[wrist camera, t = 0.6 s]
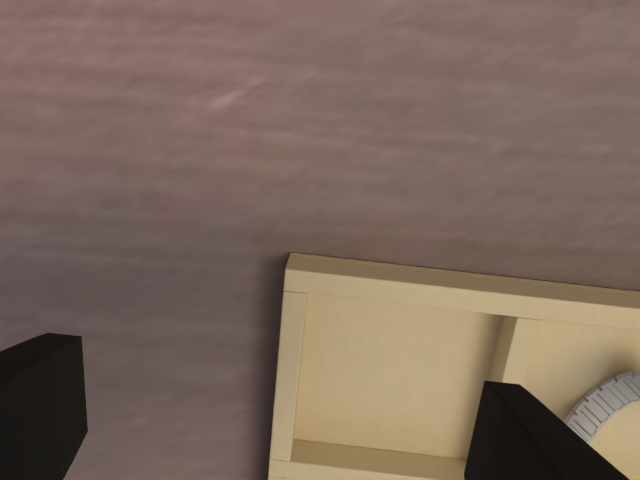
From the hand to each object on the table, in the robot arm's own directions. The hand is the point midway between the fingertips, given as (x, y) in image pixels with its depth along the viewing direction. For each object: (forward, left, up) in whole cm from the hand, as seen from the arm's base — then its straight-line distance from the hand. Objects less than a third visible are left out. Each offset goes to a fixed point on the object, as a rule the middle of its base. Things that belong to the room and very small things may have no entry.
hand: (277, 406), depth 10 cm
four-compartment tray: (-9, -7, -10) cm, 15 cm away
